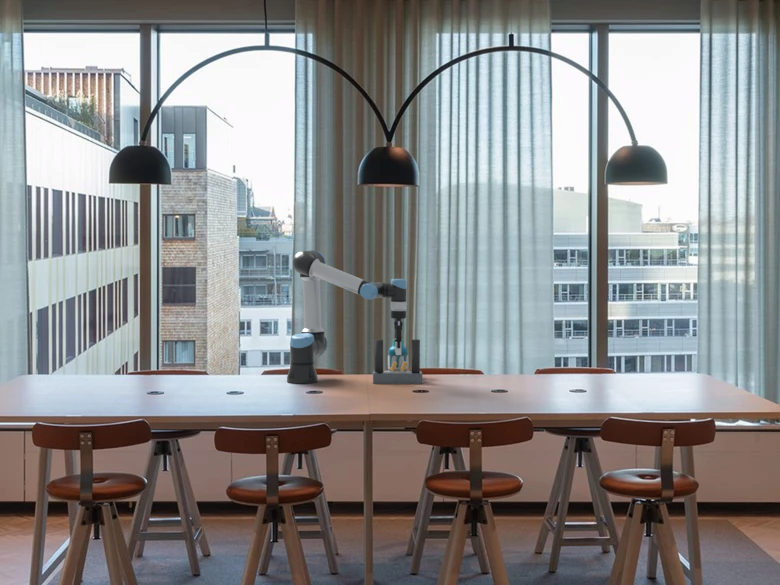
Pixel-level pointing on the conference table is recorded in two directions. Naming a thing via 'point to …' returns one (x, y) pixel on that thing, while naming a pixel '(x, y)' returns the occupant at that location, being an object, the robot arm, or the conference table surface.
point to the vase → (397, 357)
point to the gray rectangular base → (397, 377)
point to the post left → (378, 356)
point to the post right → (415, 356)
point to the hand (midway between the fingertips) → (398, 353)
